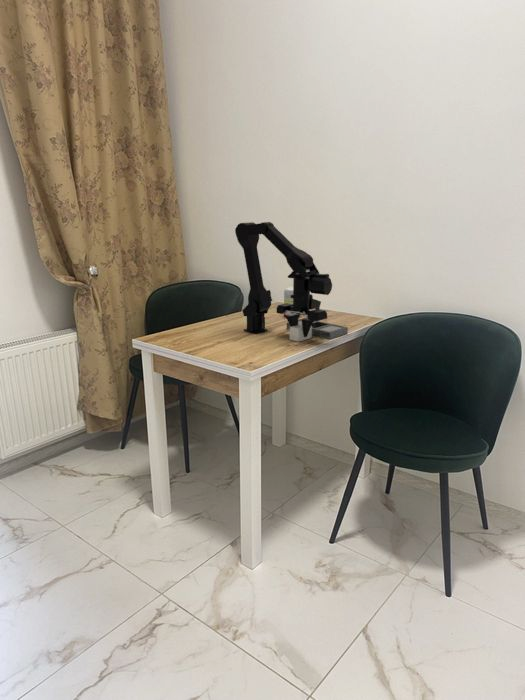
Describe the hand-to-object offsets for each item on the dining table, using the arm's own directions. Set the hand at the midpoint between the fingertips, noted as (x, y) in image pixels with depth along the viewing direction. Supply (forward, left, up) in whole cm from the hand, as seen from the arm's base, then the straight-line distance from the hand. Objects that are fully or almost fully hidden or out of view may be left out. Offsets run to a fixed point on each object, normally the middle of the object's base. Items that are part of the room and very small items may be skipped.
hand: (300, 335), depth 174 cm
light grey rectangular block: (0, 0, -1) cm, 1 cm away
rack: (+12, +2, -1) cm, 12 cm away
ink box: (+25, +25, -2) cm, 36 cm away
